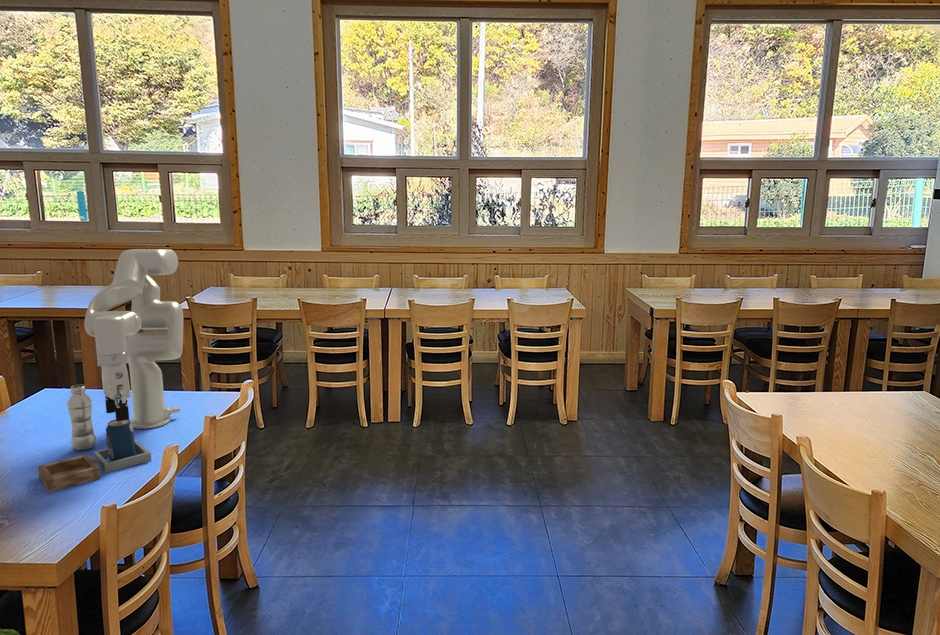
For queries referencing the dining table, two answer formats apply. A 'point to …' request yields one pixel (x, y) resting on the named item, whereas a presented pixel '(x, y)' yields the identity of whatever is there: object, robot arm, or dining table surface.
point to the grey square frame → (122, 463)
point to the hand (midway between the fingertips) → (117, 416)
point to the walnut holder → (68, 472)
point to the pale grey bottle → (81, 419)
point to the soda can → (120, 440)
